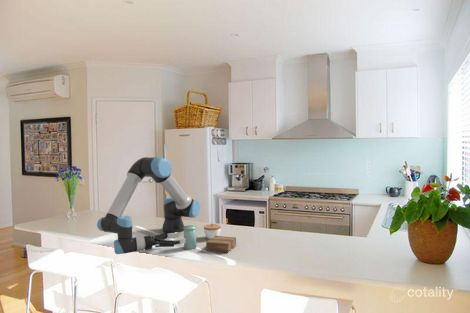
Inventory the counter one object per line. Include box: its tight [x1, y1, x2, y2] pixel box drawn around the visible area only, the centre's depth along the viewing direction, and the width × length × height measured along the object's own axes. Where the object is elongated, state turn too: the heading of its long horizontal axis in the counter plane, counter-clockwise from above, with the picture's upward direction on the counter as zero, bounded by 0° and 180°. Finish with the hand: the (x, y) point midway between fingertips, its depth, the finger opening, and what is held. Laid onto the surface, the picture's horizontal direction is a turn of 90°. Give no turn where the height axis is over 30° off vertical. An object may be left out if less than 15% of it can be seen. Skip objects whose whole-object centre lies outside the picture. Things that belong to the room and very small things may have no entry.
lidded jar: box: [203, 222, 222, 240], centre depth 218 cm, size 11×11×9 cm
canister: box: [183, 225, 197, 251], centre depth 200 cm, size 8×8×12 cm
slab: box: [205, 235, 237, 253], centre depth 198 cm, size 13×13×5 cm
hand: (181, 237), depth 198 cm, fingers open, 13 cm apart
